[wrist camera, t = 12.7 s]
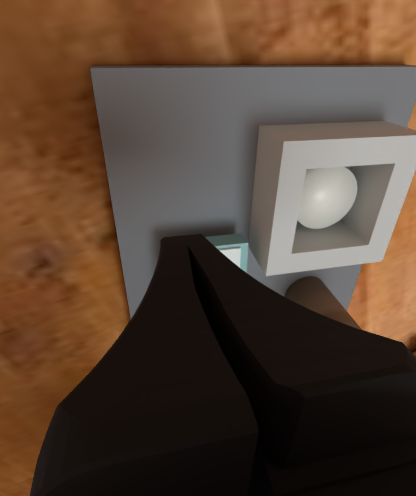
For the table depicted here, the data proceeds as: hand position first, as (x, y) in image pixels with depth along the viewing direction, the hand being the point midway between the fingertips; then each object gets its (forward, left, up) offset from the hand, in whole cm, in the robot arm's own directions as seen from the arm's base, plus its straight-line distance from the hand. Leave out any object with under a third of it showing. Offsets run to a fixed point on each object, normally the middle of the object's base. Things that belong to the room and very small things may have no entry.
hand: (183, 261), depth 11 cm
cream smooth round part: (-1, -8, -7) cm, 11 cm away
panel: (-4, -5, -8) cm, 11 cm away
